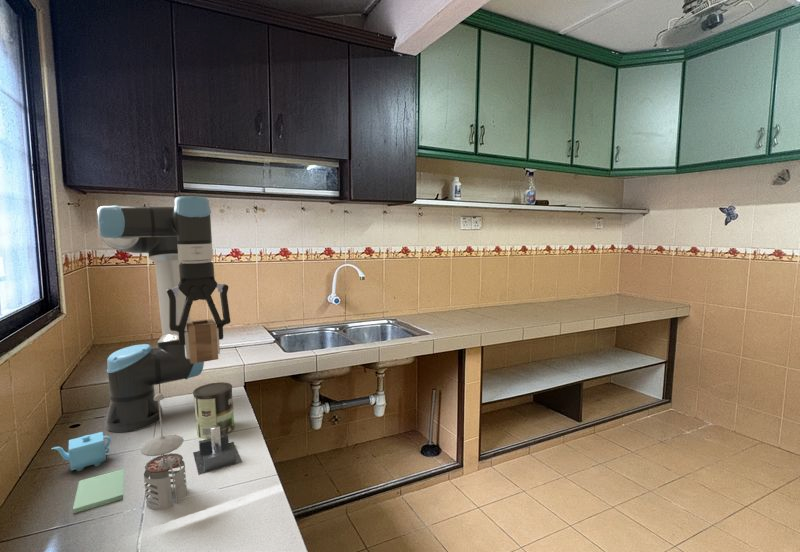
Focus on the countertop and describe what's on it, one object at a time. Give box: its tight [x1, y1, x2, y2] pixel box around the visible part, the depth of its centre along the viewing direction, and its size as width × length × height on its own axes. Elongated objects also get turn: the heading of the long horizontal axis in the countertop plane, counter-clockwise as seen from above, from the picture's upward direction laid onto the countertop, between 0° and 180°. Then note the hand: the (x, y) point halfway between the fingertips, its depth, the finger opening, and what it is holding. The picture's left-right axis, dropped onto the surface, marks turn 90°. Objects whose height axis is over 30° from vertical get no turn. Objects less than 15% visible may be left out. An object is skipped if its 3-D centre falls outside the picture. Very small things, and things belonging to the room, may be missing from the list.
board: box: [72, 468, 126, 514], centre depth 96 cm, size 12×10×1 cm
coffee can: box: [192, 381, 235, 440], centre depth 121 cm, size 10×10×14 cm
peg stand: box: [192, 425, 243, 476], centre depth 106 cm, size 12×10×10 cm
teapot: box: [51, 431, 112, 472], centre depth 106 cm, size 12×6×8 cm, turn 128°
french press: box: [139, 393, 188, 510], centre depth 89 cm, size 10×12×25 cm
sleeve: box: [186, 318, 219, 364], centre depth 103 cm, size 6×6×9 cm
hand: (202, 354), depth 103 cm, fingers closed on sleeve, 6 cm apart
